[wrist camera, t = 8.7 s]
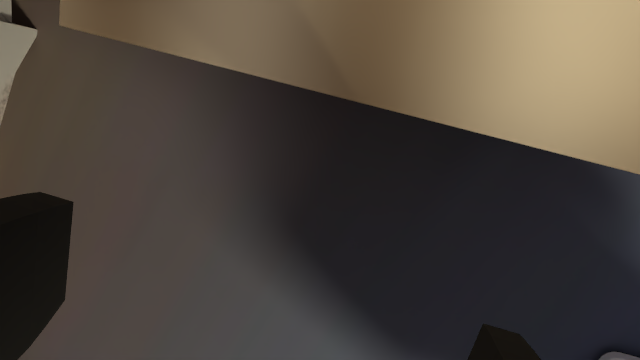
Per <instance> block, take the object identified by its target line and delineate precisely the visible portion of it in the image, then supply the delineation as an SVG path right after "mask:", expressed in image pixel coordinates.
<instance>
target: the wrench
mask: <svg viewBox="0 0 640 360" xmlns="http://www.w3.org/2000/svg"><path fill="white" fill-rule="evenodd" d="M36 36H37V29H33V28H29V27H26V26H22V25H18V24H15V23H12V7H11V0H0V125H1V122H2V118H3V114H4V111H5V107H6V104H7V100H8V97H9V93H10V90H11V86H12V83H13V79H14V76H15V72H16V71H17V69H18V67H19V66H20V64H21V62H22V60H23V59H24V57H25V55H26V54H27V52H28V50H29V48H30V47H31V45H32V43H33V42H34V40H35V38H36Z"/></svg>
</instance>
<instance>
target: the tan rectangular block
mask: <svg viewBox="0 0 640 360" xmlns="http://www.w3.org/2000/svg"><path fill="white" fill-rule="evenodd" d="M59 26H63V27H67V28H71V29H75V30H79V31H83V32H87V33H91V34H95V35H98V36H102V37H106V38H110V39H114V40H118V41H122V42H126V43H130V44H133V45H137V46H141V47H145V48H149V49H153V50H157V51H161V52H165V53H169V54H172V55H176V56H180V57H184V58H188V59H192V60H196V61H200V62H204V63H208V64H211V65H215V66H219V67H223V68H227V69H231V70H235V71H239V72H243V73H246V74H250V75H254V76H258V77H262V78H266V79H270V80H274V81H278V82H282V83H285V84H289V85H293V86H297V87H301V88H305V89H309V90H313V91H317V92H321V93H324V94H328V95H332V96H336V97H340V98H344V99H348V100H352V101H356V102H359V103H363V104H367V105H371V106H375V107H379V108H383V109H387V110H391V111H395V112H398V113H402V114H406V115H410V116H414V117H418V118H422V119H426V120H430V121H434V122H437V123H441V124H445V125H449V126H453V127H457V128H461V129H465V130H469V131H472V132H476V133H480V134H484V135H488V136H492V137H496V138H500V139H504V140H508V141H511V142H515V143H519V144H523V145H527V146H531V147H535V148H539V149H543V150H547V151H550V152H554V153H558V154H562V155H566V156H570V157H574V158H578V159H582V160H585V161H589V162H593V163H597V164H601V165H605V166H609V167H613V168H617V169H621V170H624V171H628V172H632V173H636V174H640V0H60V17H59Z"/></svg>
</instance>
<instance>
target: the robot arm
mask: <svg viewBox="0 0 640 360" xmlns="http://www.w3.org/2000/svg"><path fill="white" fill-rule="evenodd" d="M72 212H73V202H72V201H69V200H65V199H62V198H58V197H55V196H52V195H48V194H45V193H42V192H37V193H29V194H22V195H17V196H11V197H6V198H1V199H0V360H17V359H18V358H19V357H20V356H21V355H22V354H23V353H24V352H25V351H26V350H27V349H28V348H29V347H30V346H31V344H32V343H33V342H34V341H35V339H36V338H37V337H38V335H39V334H40V333H41V332H42V330H43V329H44V328H45V326H46V325H47V324H48V322H49V321H50V320H51V318H52V317H53V316H54V314H55V313H56V311H57V310H58V309H59V307H60V306H61V305H62V303H63V302H64V300H65V292H66V280H67V269H68V258H69V246H70V235H71V224H72ZM468 360H541V359H540V358H539V356H538V355H537V354H536V353H535V351H534V350H533V349H532V348H531V347H530V345H529V344H528V343H527V342H526V341H525V340H524V339H523V338H522V336H521V335H520V334H517V333H514V332H510V331H507V330H503V329H500V328H497V327H493V326H490V325H487V324H483V325H482V327H481V330H480V332H479V334H478V337H477V339H476V341H475V344H474V346H473V348H472V351H471V353H470V355H469V357H468ZM599 360H640V358H638V357H635V356H631V355H628V354H624V353H621V352H609V353H606V354H604V355H603V356H601V357H600V359H599Z"/></svg>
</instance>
